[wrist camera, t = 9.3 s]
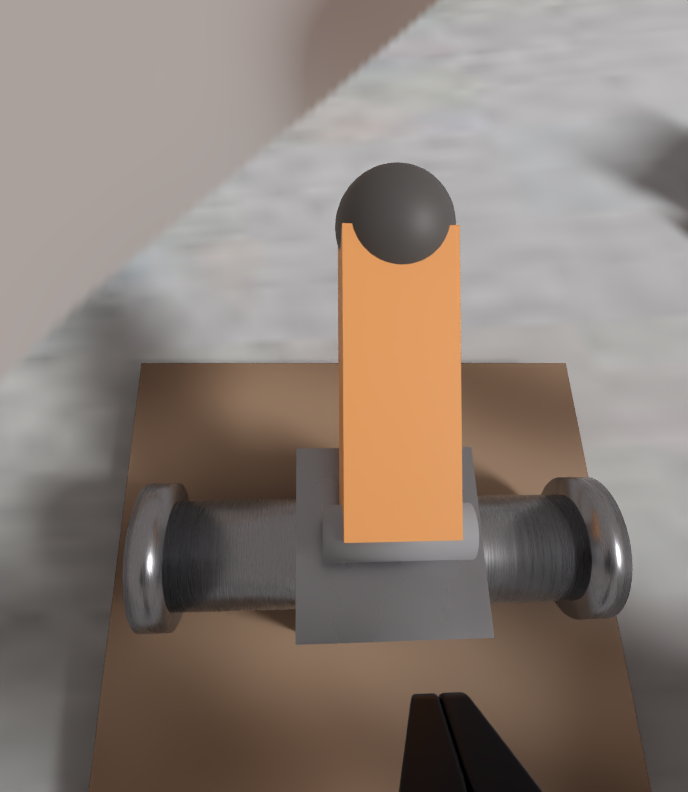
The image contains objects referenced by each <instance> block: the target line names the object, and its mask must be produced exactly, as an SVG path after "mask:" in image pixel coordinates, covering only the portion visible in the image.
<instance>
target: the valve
mask: <svg viewBox="0 0 688 792" xmlns="http://www.w3.org/2000/svg"><path fill="white" fill-rule="evenodd" d="M462 503H471V504H472V506H473V507H474V510H475V512H476V516H477V521H478V527H479V549H478V553H477V556H476V558H475V559H473V560H436V561H396V562H356V563H323V547H322V506H323V505H339V448H305V449H296V499H251V500H193V501H189V497H188V493H187V490H186V488H185V487H184V485H183V484H181V483H150V484H147V485H146V486H145V487H144V488H143V489H142V490H141V492H140V493H139V495H138V497H137V499H136V501H135V504H134V507H133V510H132V513H131V516H130V520H129V525H128V529H127V534H126V540H125V548H124V557H123V578H122V584H123V601H124V608H125V613H126V618H127V621H128V624H129V626H130V628H131V630H132V631H133V632H134V633H136V634H164V633H172V632H173V631H174V630H175V629H176V628H177V626H178V624H179V622H180V619H181V617H182V614H183V613H189V612H222V611H254V610H287V609H296V635H295V645H309V644H337V643H366V642H394V641H423V640H451V639H480V638H494V631H493V622H492V614H491V606H490V603H515V602H548V601H555V603H556V604H557V606H558V607H559V608H560V609H561V611H562V612H563V613H564V614H566V615H567V616H568V617H570V618H572V619H576V620H587V619H609V618H612V617H615V616H616V615H617V614H619V613H620V611H621V610H622V609H623V607H624V605H625V604H626V601H627V599H628V596H629V592H630V588H631V581H632V554H631V546H630V540H629V536H628V532H627V528H626V525H625V522H624V519H623V516H622V514H621V511H620V509H619V507H618V505H617V503H616V501H615V500H614V498H613V497H612V495H611V494H610V492H609V491H608V490H607V489H606V488H605V487H604V486H603V485H602V484H601V483H600V482H598V481H597V480H595V479H593V478H590V477H557V478H554V479H552V480H551V481H549V482H548V483H547V484H546V486H545V487H544V489H543V491H542V493H541V495H486V496H477V489H476V481H475V473H474V465H473V456H472V448H471V447H462Z"/></svg>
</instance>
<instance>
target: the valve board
mask: <svg viewBox="0 0 688 792" xmlns="http://www.w3.org/2000/svg"><path fill="white" fill-rule="evenodd" d="M461 409H462V447H471V448H472V456H473V465H474V473H475V481H476V489H477V496H486V495H541V493H542V491H543V489H544V487H545V486H546V484H547V483H548V482H549V481H551V480H552V479H554V478H557V477H588V473H587V468H586V463H585V458H584V453H583V448H582V443H581V438H580V433H579V428H578V423H577V418H576V413H575V408H574V403H573V398H572V393H571V388H570V383H569V378H568V373H567V368H566V363H461ZM305 448H339V363H142V364H141V372H140V380H139V388H138V396H137V404H136V412H135V421H134V429H133V437H132V445H131V453H130V461H129V469H128V477H127V485H126V493H125V502H124V510H123V518H122V526H121V534H120V542H119V550H118V558H117V566H116V574H115V583H114V591H113V599H112V607H111V615H110V623H109V631H108V639H107V647H106V655H105V664H104V672H103V680H102V688H101V696H100V704H99V712H98V720H97V728H96V736H95V745H94V753H93V761H92V769H91V777H90V785H89V792H399V786H400V778H401V771H402V763H403V755H404V747H405V740H406V732H407V724H408V716H409V709H410V701H411V697H412V695H413V694H424V693H434V694H436V695H438V696H439V695H440V694H441V693H448V692H463V693H465V694H467V695H468V696H469V697H470V698H471V700H472V701H473V702H474V704H475V705H476V706H477V707H478V709H479V710H480V711H481V712H482V714H483V715H484V716H485V718H486V719H487V720H488V721H489V723H490V724H491V725H492V727H493V728H494V729H495V730H496V732H497V733H498V734H499V736H500V737H501V738H502V739H503V741H504V742H505V743H506V745H507V746H508V747H509V748H510V750H511V751H512V752H513V754H514V755H515V756H516V757H517V759H518V760H519V761H520V763H521V764H522V765H523V766H524V768H525V769H526V770H527V772H528V773H529V774H530V775H531V777H532V778H533V779H534V781H535V782H536V783H537V784H538V786H539V787H540V788H541V789H542V791H543V792H651V788H650V783H649V778H648V773H647V768H646V763H645V758H644V753H643V748H642V743H641V738H640V733H639V728H638V723H637V718H636V713H635V708H634V703H633V698H632V693H631V688H630V683H629V678H628V673H627V668H626V663H625V658H624V653H623V648H622V643H621V638H620V633H619V628H618V623H617V618H616V616H615V617H612V618H609V619H587V620H576V619H572V618H570V617H568V616H567V615H566V614H564V613H563V612H562V611H561V609H560V608H559V607H558V606H557V604H556V603H555V601H548V602H515V603H490V606H491V614H492V622H493V631H494V638H480V639H451V640H423V641H394V642H366V643H337V644H309V645H295V635H296V609H287V610H254V611H222V612H189V613H183V614H182V617H181V619H180V622H179V624H178V626H177V628H176V629H175V630H174V631H173V632H172V633H164V634H136V633H134V632H133V631H132V630H131V628H130V626H129V624H128V621H127V618H126V613H125V608H124V601H123V584H122V578H123V557H124V548H125V540H126V534H127V529H128V525H129V520H130V516H131V513H132V510H133V507H134V504H135V501H136V499H137V497H138V495H139V493H140V492H141V490H142V489H143V488H144V487H145V486H146V485H147V484H150V483H181V484H183V485H184V487H185V488H186V490H187V493H188V497H189V501H193V500H251V499H296V449H305Z"/></svg>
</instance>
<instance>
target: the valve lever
mask: <svg viewBox="0 0 688 792" xmlns="http://www.w3.org/2000/svg"><path fill="white" fill-rule="evenodd" d="M335 231H336V240H337V244H338V343H339V505H323V506H322V547H323V563H356V562H396V561H436V560H473V559H475V558H476V556H477V553H478V549H479V527H478V521H477V516H476V512H475V510H474V507H473V506H472V504H471V503H462V409H461V314H460V225H456V219H455V211H454V207H453V203H452V201H451V198H450V196H449V194H448V192H447V191H446V189H445V187H444V186H443V185H442V183H441V182H440V181H439V180H438V179H437V178H436V177H435V176H434V175H432V174H431V173H429V172H428V171H426V170H425V169H423V168H420V167H418V166H415V165H412V164H408V163H387V164H383V165H379V166H376V167H374V168H372V169H370V170H368V171H366V172H365V173H363V174H362V175H361V176H359V177H358V178H357V179H356V180H355V181H354V182H353V183H352V184H351V185H350V186H349V188H348V189H347V191H346V192H345V194H344V195H343V197H342V199H341V202H340V205H339V208H338V211H337V215H336V223H335Z"/></svg>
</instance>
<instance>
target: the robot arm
mask: <svg viewBox="0 0 688 792" xmlns="http://www.w3.org/2000/svg"><path fill="white" fill-rule="evenodd" d="M399 792H543V791H542V789H541V788H540V787H539V786H538V784H537V783H536V782H535V781H534V779H533V778H532V777H531V775H530V774H529V773H528V772H527V770H526V769H525V768H524V766H523V765H522V764H521V763H520V761H519V760H518V759H517V757H516V756H515V755H514V754H513V752H512V751H511V750H510V748H509V747H508V746H507V745H506V743H505V742H504V741H503V739H502V738H501V737H500V736H499V734H498V733H497V732H496V730H495V729H494V728H493V727H492V725H491V724H490V723H489V721H488V720H487V719H486V718H485V716H484V715H483V714H482V712H481V711H480V710H479V709H478V707H477V706H476V705H475V704H474V702H473V701H472V700H471V698H470V697H469V696H468V695H467V694H465V693H463V692H448V693H441V694H440V695H439V696H438V695H436V694H434V693H424V694H413V695H412V697H411V701H410V709H409V716H408V724H407V732H406V740H405V747H404V755H403V763H402V771H401V778H400V786H399Z"/></svg>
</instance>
